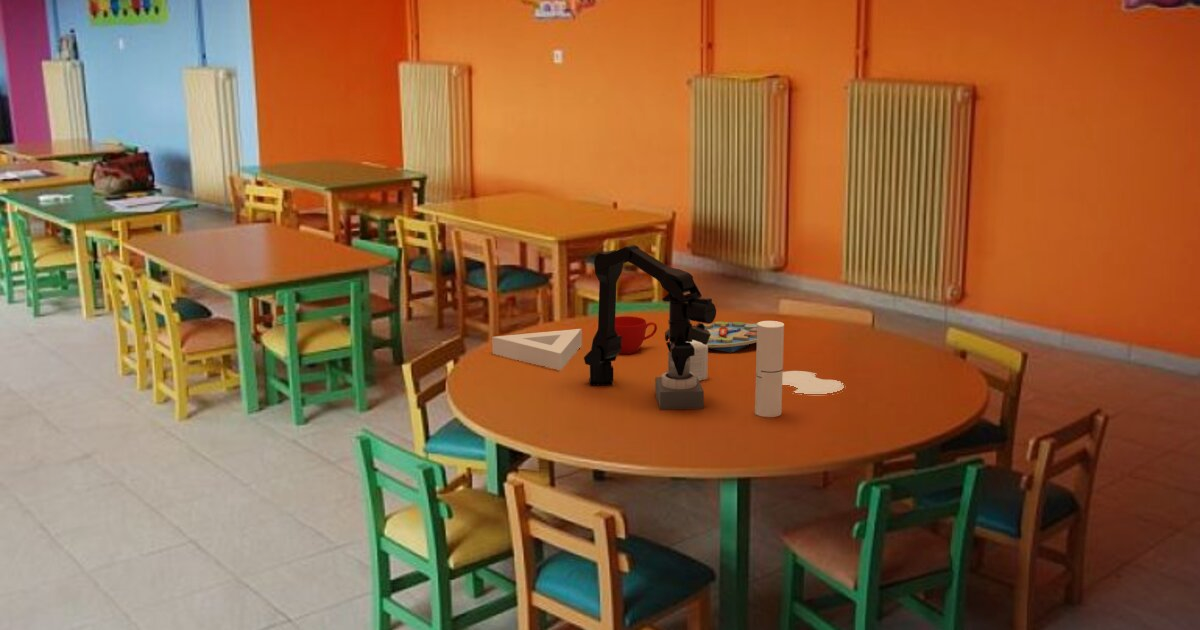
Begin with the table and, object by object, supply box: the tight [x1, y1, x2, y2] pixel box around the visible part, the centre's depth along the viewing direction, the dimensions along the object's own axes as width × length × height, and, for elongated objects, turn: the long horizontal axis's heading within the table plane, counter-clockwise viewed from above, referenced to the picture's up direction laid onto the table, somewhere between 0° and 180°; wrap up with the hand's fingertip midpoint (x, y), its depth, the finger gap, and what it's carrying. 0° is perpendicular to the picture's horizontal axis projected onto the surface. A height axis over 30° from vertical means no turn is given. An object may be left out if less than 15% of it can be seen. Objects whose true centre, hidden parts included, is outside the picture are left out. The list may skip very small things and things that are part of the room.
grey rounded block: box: [667, 351, 690, 380], centre depth 336 cm, size 6×6×7 cm
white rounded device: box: [690, 340, 709, 382], centre depth 356 cm, size 10×4×12 cm, turn 123°
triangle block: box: [491, 328, 583, 372], centre depth 379 cm, size 30×26×6 cm
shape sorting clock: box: [692, 321, 757, 353], centre depth 399 cm, size 31×30×6 cm
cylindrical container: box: [754, 320, 785, 418], centre depth 325 cm, size 7×7×25 cm
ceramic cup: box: [615, 315, 658, 355], centre depth 388 cm, size 13×17×10 cm
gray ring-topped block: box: [654, 371, 705, 410], centre depth 338 cm, size 12×14×8 cm
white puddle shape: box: [782, 370, 845, 394], centre depth 354 cm, size 20×2×25 cm
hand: (679, 372), depth 337 cm, fingers closed on grey rounded block, 6 cm apart
